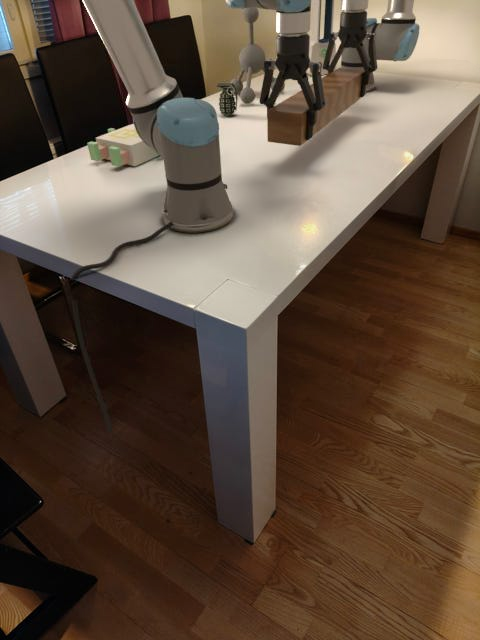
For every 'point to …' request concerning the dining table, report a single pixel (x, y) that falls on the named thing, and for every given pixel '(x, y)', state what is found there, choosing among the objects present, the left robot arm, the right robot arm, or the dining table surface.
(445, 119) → the dining table surface
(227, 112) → the grenade
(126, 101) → the left robot arm
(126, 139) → the decorative block
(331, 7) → the electronic device
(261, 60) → the molecular model
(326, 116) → the wooden square beam
